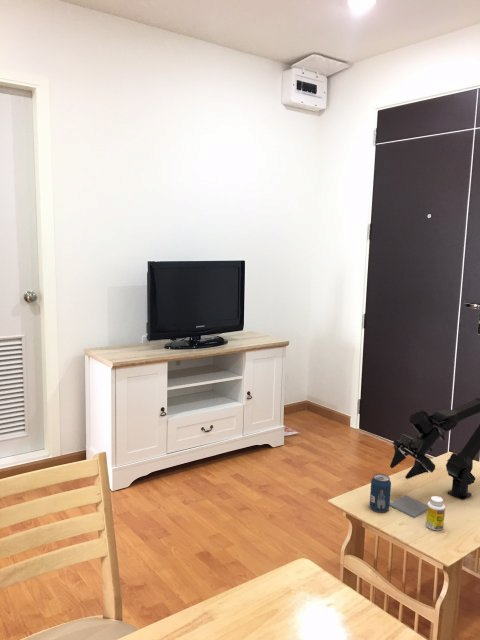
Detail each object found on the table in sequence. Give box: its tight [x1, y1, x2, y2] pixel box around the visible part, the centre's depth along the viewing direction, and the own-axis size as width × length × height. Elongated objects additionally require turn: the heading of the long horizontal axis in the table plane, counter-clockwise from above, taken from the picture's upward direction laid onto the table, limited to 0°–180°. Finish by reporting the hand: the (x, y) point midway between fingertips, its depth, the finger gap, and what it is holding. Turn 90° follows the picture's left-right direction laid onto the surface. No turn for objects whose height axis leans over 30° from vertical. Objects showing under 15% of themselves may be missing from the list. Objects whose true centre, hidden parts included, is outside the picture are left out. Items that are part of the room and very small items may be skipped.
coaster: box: [389, 494, 428, 519], centre depth 194 cm, size 11×11×1 cm
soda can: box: [369, 473, 392, 513], centre depth 192 cm, size 7×7×12 cm
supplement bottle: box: [425, 495, 446, 531], centre depth 180 cm, size 6×6×10 cm
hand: (398, 472), depth 193 cm, fingers open, 9 cm apart
